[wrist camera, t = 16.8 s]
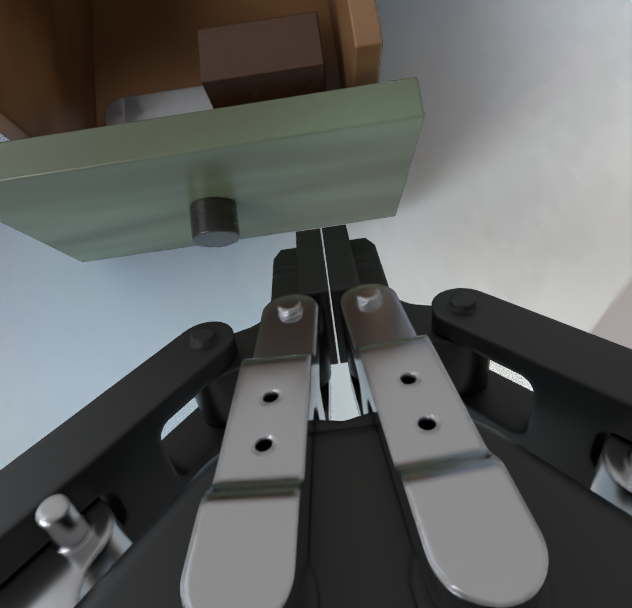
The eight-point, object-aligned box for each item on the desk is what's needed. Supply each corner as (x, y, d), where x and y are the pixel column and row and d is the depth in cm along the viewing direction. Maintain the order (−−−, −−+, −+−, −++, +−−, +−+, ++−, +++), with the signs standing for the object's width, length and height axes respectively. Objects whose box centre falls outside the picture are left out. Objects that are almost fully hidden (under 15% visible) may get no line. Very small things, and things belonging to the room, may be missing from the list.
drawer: (401, 244, 19) (434, 157, 12) (83, 290, 20) (-67, 232, 13) (349, -54, 22) (351, -268, 15) (71, -7, 22) (-57, -194, 15)
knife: (321, 67, 20) (317, 10, 17) (327, 114, 19) (324, 64, 16) (106, 99, 20) (65, 48, 17) (108, 146, 20) (67, 102, 17)
